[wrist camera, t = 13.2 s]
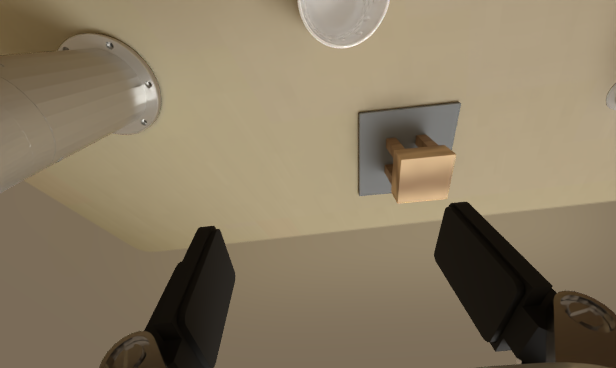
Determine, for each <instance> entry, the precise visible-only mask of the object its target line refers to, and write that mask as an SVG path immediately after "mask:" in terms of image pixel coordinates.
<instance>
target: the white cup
mask: <svg viewBox="0 0 616 368" xmlns="http://www.w3.org/2000/svg"><path fill="white" fill-rule="evenodd" d="M389 1H390V0H297V2H298V8H299V12H300V16H301V18H302V21H303V23H304V25H305V27H306V28H307V30H308V31H309V32H310V34H311V35H312V36H313V37H314V38H315V39H316V40H318V41H319V42H321V43H322V44H324V45H327V46H329V47H333V48H349V47H352V46H355V45H358V44H360V43H361V42H363V41H365V40H366V39H367V38H369V37H370V36H371V35H372V34H373V33H374V32H375V31H376V29H377V28H378V27H379V25H380V24H381V22H382V20H383V18H384V16H385V14H386V11H387V9H388V5H389Z"/></svg>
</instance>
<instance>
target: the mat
mask: <svg viewBox="0 0 616 368" xmlns="http://www.w3.org/2000/svg"><path fill="white" fill-rule="evenodd" d="M460 106H461V103H459V102H456V103H447V104H437V105H428V106H419V107H409V108H400V109H390V110H381V111H372V112H362V113H359V196H366V195H377V194H388V193H392V192H391V186H392V185H391V183H390V182H389V180H388V178H387V176H386V174H385V173H384V172H385V165H388V164H393V157H392V156H391V154H390V153H389V151H388V150H387V148H386V138H397V140H398V141H399V142H400V143H401V144H402V146H403V147H404V148H405V149H410V148H418V146H417V145H416V144H415V142H416V135H424V134H426V135H427V136H428V137H430V138H431V139H432V140H433V141H434V142H435V143H437V144H438V145H445V146H447V147H448V148H449V149H450V150H451V151H452V146H453V141H454V136H455V131H456V126H457V121H458V116H459V111H460Z"/></svg>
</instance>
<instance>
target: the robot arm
mask: <svg viewBox="0 0 616 368" xmlns="http://www.w3.org/2000/svg"><path fill="white" fill-rule="evenodd" d="M150 82H151V84H152V85H151V84H150ZM160 109H161V93H160V88H159V85H158V82H157V80H156V78H155V76H154V74H153V72H152V70H151V69H150V68H149V66H148V65H147V63H146V62H145V61H144V60H143V59H142V58H141V57H140V56H139V55H138V54H137V53H136V52H135V51H134V50H133V49H131V48H130V47H129V46H127V45H126V44H124V43H122V42H121V41H119V40H117V39H114V38H112V37H109V36H106V35H101V34H92V33H85V34H78V35H75V36H72V37H70V38H68V39H67V40H65V41H64V42H63V43H62V44H61V46H60V47H59V49H58V50H57V51H50V52H37V53H25V54H12V55H0V193H1V192H3V191H5V190H7V189H8V188H10V187H12V186H14V185H16V184H17V183H19V182H21V181H23V180H25V179H27V178H28V177H30V176H32V175H34V174H36V173H38V172H40V171H42V170H43V169H45V168H47V167H49V166H51V165H53V164H55V163H57V162H59V161H61V160H63V159H64V158H66V157H68V156H70V155H72V154H74V153H76V152H78V151H80V150H81V149H83V148H85V147H87V146H89V145H91V144H93V143H95V142H97V141H98V140H100V139H102V138H104V137H106V136H108V135H110V134H112V133H115V134H121V135H131V134H136V133H139V132H141V131H144V130H146V129H147V128H149V127H150V126H151V125H152V124H153V123H154V122H155V121H156V119H157V118H158V116H159V113H160ZM434 257H435V260H436V262H437V264H438V266H439V267H440V269H441V270H442V272H443V274H444V276H445V277H446V278H447V280H448V282H449V284H450V285H451V287H452V288H453V290H454V291H455V293H456V295H457V296H458V298H459V300H460V302H461V303H462V305H463V306H464V308H465V310H466V311H467V313H468V314H469V316H470V317H471V319H472V321H473V323H474V324H475V326H476V327H477V329H478V331H479V332H480V334H481V336H482V337H483V338H484V340H485V341H487V342H490V344H491V345H492V347H493V348H494V350H495V351H507V350H512V352H513V353H514V355H515V356H516V357H517V359H516V365H503V366H490V367H479V368H616V315H615V313H614V312H613V311H612V310H610V309H609V308H608V307H607V306H605V305H604V304H603V303H601V302H599V301H597V300H596V299H594V298H592V297H590V296H587V295H585V294H582V293H578V292H575V291H561V292H558V293H556V292H555V291H554V290H553V289H552V285H551V284H550V283H549V282H548V281H547V280H546V279H545V278H544V277H543V276H542V275H541V274H540V273H539V272H538V271H537V270H536V269H535V268H534V267H533V266H532V265H531V264H530V263H529V262H528V261H527V260H526V259H525V258H524V257H523V256H522V255H521V254H520V253H519V252H518V251H517V250H516V249H515V248H514V247H513V246H512V245H511V244H509V242H508V241H506V240H505V239H504V237H502V236H501V235H500V234H499V233H498V232H497V231H496V230H495V229H494V228H493V227H492V226H491V225H490V224H489V223H488V222H487V221H486V220H485V219H484V218H483V217H482V216H481V215H480V214H479V213H478V212H477V211H476V210H475V209H474V208H473V207H472V206H471V205H470V204H469V203H468V202H458V203H451V204H450V205H449V207H446V209H445V212H444V216H443V220H442V224H441V228H440V232H439V236H438V240H437V244H436V248H435V253H434ZM234 283H235V272H234V269H233V266H232V263H231V260H230V257H229V254H228V252H227V249H226V246H225V243H224V240H223V237H222V234H221V231H220V230H219V229H216V228H215V227H214V226H208V227H200V228H198V230H197V232H196V234H195V236H194V238H193V240H192V242H191V244H190V246H189V248H188V250H187V253H186V255H185V257H184V259H183V261H182V262H180V263H179V264H178V265H177V267H176V268H175V270H174V272H173V274H172V276H171V279H170V280H169V282H168V284H167V286H166V288H165V290H164V292H163V294H162V296H161V298H160V300H159V302H158V305H157V306H156V308H155V310H154V312H153V315H152V316H151V318H150V320H149V323H148V325H147V326H146V328H145V330H144V331H138V332H134V333H131V334H129V335H127V336H125V337H124V338H122V339H121V340H119V341H118V342H117V343H116V344H114V345H113V347H112V348H111V349H110V350H109V351H108V352H107V353H106V355H105V356H104V358H103V360H102V362H101V364H100V367H99V368H213V367H214V366H215V363H216V359H217V355H218V351H219V347H220V342H221V338H222V334H223V329H224V325H225V321H226V317H227V313H228V308H229V304H230V300H231V295H232V291H233V287H234Z"/></svg>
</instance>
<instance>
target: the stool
mask: <svg viewBox="0 0 616 368" xmlns="http://www.w3.org/2000/svg"><path fill="white" fill-rule="evenodd" d="M415 144H416V145H417V146H418V148H410V149H405V148H404V147H403V146H402V144H401V143H400V142H399V141H398V140H397V138H386V148H387V150H388V151H389V153H390V154H391V156H392V157H393V164H388V165H385V172H384V173H385V174H386V176H387V178H388V180H389V182H390V183H391V185H392V186H391V192H392V194H393V196H394V198H395V200H396V202H397V203H398V204H399V203H409V202H420V201H431V200H442V199H447V197H448V192H449V187H450V182H451V177H452V173H453V168H454V163H455V158H456V154H455V153H454V152H453V151H451V150H450V149H449V148H448V147H447V146H445V145H438V144H437V143H435V142H434V141H433V140H432V139H431V138H430V137H428V136H427V135H426V134H424V135H416V142H415Z"/></svg>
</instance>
